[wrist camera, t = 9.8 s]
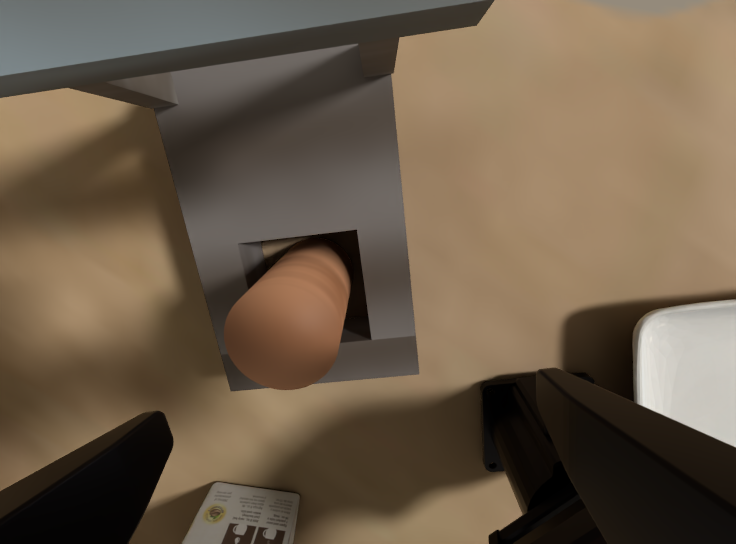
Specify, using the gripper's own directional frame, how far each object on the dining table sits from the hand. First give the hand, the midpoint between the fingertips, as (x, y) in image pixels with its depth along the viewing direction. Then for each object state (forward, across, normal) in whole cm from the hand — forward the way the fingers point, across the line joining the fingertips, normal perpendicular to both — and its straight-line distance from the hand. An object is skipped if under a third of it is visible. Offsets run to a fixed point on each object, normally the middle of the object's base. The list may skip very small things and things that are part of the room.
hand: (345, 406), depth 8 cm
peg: (+12, +3, 0) cm, 12 cm away
